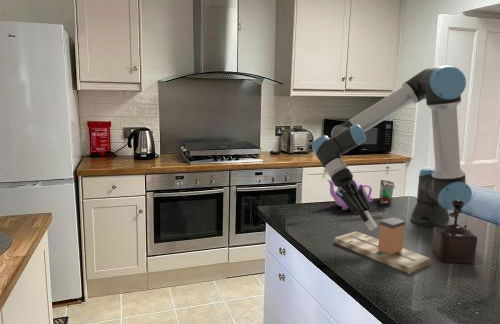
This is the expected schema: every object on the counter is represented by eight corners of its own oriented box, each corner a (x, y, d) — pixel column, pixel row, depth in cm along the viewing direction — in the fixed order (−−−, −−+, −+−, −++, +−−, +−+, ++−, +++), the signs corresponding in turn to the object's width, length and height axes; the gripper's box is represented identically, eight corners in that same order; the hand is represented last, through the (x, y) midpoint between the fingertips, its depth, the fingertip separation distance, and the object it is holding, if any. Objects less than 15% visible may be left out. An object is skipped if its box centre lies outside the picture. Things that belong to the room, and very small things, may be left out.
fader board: (334, 242, 147) (334, 237, 146) (355, 236, 154) (356, 230, 153) (409, 273, 123) (409, 267, 123) (430, 264, 130) (430, 258, 130)
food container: (395, 206, 194) (396, 186, 192) (381, 205, 195) (383, 185, 193) (391, 199, 206) (393, 180, 204) (379, 198, 207) (380, 179, 205)
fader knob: (377, 249, 135) (379, 220, 133) (389, 245, 139) (392, 217, 137) (390, 255, 131) (393, 225, 129) (402, 250, 135) (405, 221, 133)
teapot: (326, 211, 183) (328, 182, 181) (323, 202, 198) (324, 175, 196) (375, 213, 182) (377, 184, 179) (368, 204, 197) (370, 176, 194)
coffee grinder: (477, 265, 130) (484, 211, 127) (442, 263, 131) (448, 210, 128) (456, 246, 146) (462, 198, 142) (425, 245, 146) (430, 197, 143)
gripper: (344, 176, 155) (378, 230, 146) (321, 180, 148) (355, 237, 138) (356, 165, 150) (392, 220, 140) (333, 169, 143) (369, 227, 133)
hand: (373, 228), depth 139 cm, fingers closed
